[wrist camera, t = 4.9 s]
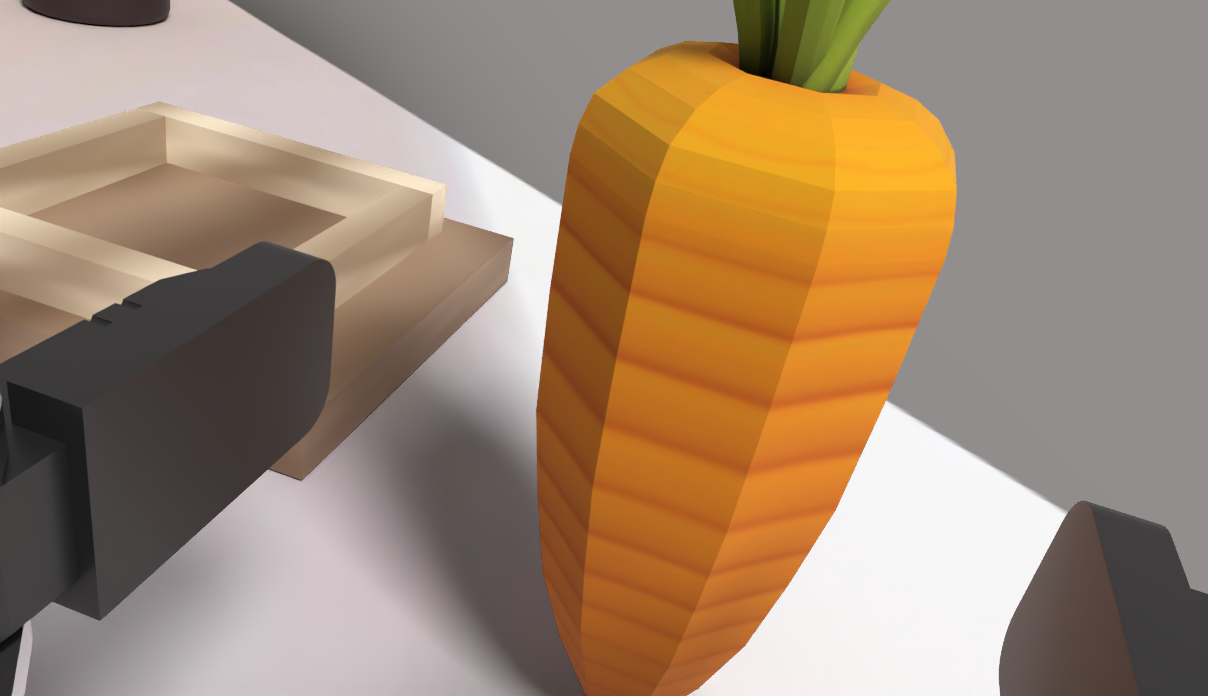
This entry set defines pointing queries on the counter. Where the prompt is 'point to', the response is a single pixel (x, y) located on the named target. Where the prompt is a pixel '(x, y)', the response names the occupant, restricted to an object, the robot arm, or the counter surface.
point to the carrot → (724, 331)
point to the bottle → (103, 11)
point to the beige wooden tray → (238, 241)
